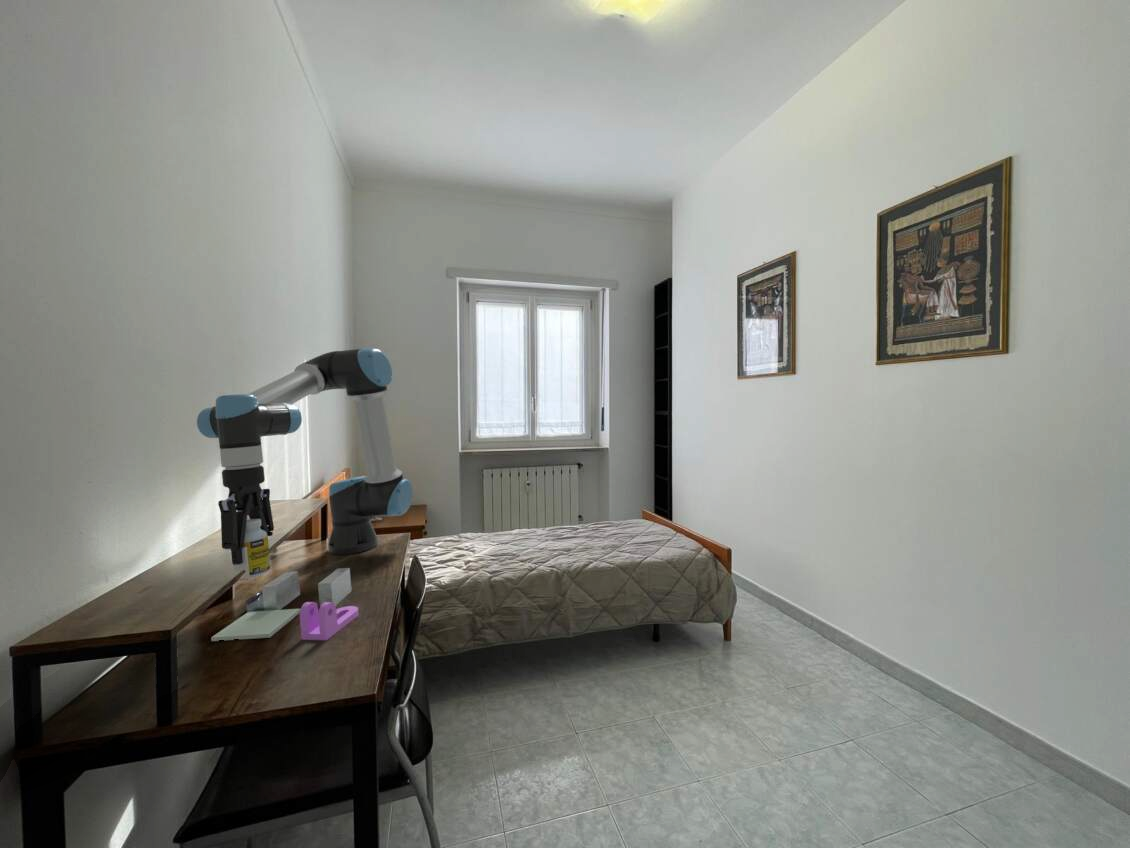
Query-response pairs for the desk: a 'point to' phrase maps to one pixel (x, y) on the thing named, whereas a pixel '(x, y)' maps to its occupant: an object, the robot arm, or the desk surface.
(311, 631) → the bracket
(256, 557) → the pill bottle
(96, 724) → the desk surface
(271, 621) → the mat
